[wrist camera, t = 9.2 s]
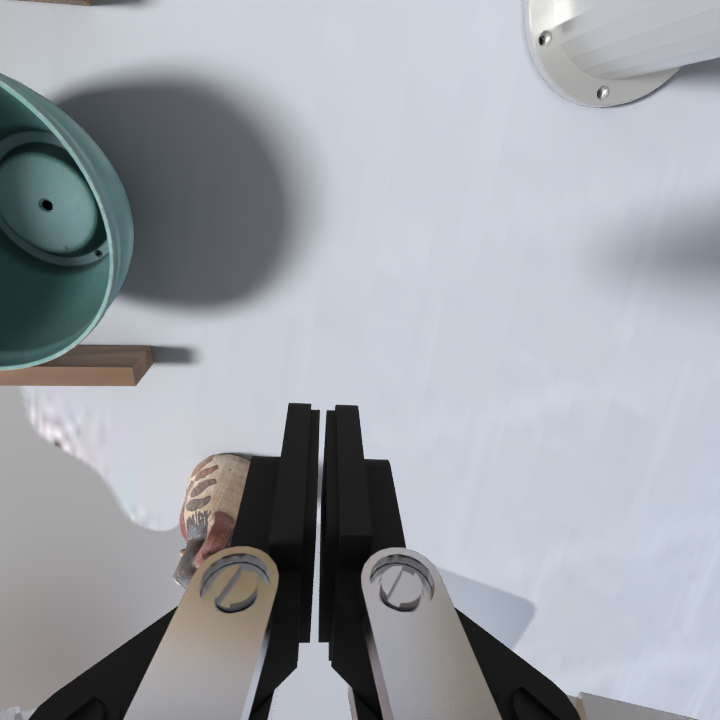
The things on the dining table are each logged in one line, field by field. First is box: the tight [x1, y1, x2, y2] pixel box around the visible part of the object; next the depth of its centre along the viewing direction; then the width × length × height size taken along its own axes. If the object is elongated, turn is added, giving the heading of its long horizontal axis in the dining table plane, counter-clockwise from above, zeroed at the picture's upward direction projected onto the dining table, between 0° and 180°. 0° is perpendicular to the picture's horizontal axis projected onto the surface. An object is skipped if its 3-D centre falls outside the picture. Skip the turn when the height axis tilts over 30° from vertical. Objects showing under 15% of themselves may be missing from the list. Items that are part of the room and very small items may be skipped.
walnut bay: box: [0, 0, 153, 386], centre depth 30 cm, size 26×13×4 cm, turn 177°
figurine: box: [173, 454, 250, 589], centre depth 38 cm, size 7×7×12 cm
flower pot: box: [0, 73, 134, 371], centre depth 27 cm, size 16×16×11 cm
